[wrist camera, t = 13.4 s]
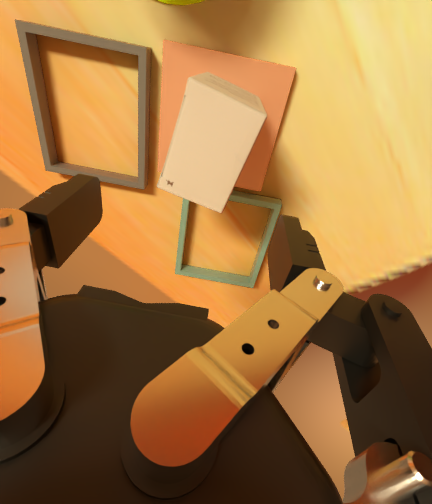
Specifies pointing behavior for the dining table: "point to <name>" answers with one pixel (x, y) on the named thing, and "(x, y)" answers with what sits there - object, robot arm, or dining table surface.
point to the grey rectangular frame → (41, 108)
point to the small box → (211, 141)
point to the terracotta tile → (238, 73)
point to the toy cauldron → (180, 2)
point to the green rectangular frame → (250, 281)
